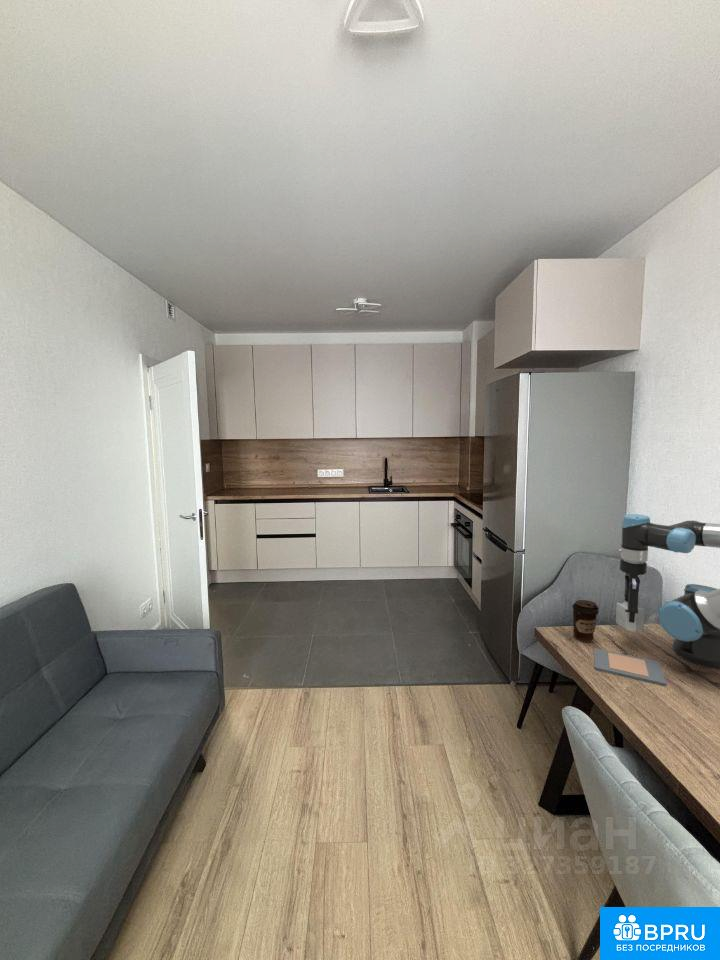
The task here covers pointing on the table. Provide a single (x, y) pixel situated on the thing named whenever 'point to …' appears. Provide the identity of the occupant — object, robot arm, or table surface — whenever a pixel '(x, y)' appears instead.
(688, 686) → the table surface
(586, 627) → the coffee cup
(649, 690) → the table surface
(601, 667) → the card
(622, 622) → the skincare box
